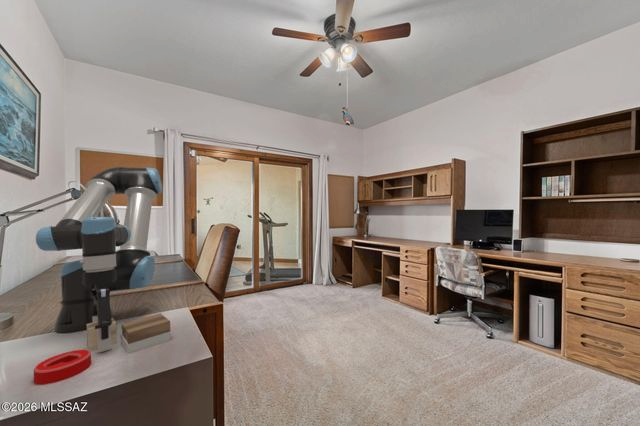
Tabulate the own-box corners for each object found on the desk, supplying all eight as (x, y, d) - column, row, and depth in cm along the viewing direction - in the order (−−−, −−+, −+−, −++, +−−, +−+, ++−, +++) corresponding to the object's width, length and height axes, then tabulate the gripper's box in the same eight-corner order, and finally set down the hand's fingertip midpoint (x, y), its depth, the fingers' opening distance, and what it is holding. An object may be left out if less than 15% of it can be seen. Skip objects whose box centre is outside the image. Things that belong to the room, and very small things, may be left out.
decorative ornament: (87, 357, 68) (87, 345, 68) (94, 369, 62) (94, 356, 62) (32, 375, 61) (32, 361, 61) (34, 391, 54) (34, 376, 54)
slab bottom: (121, 344, 75) (120, 334, 75) (160, 332, 82) (159, 323, 82) (127, 356, 68) (127, 344, 68) (170, 341, 75) (169, 331, 75)
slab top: (121, 333, 75) (121, 323, 76) (160, 322, 83) (160, 313, 83) (128, 344, 68) (128, 332, 69) (170, 331, 76) (170, 321, 76)
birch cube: (87, 344, 75) (86, 324, 75) (113, 337, 79) (112, 317, 80) (89, 351, 71) (88, 329, 71) (116, 343, 75) (116, 322, 75)
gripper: (79, 267, 82) (81, 335, 81) (86, 276, 64) (88, 363, 64) (110, 264, 87) (111, 328, 86) (123, 271, 70) (125, 351, 69)
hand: (101, 343), depth 75 cm, fingers open, 13 cm apart
